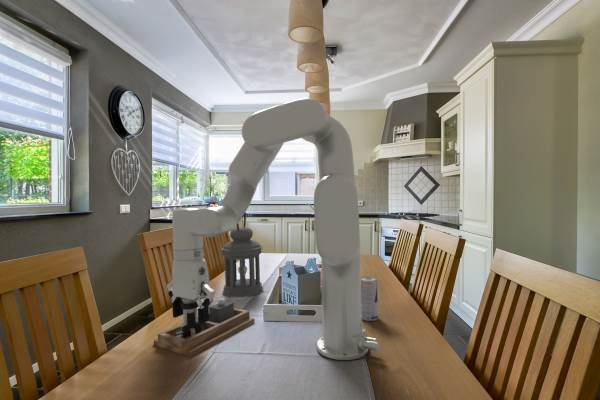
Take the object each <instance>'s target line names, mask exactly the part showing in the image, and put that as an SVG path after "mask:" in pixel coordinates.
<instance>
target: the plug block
mask: <svg viewBox="0 0 600 400" xmlns="http://www.w3.org/2000/svg"><path fill="white" fill-rule="evenodd" d="M234 308H235V303H234V302H231V301H227V300H225V298H219V299H217V303H215V304H212V305H210V306H209V321H211V322H216V323H221V322H223V321H225V320H227V319H230V318H232V317H234Z"/></svg>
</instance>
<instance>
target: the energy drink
mask: <svg viewBox="0 0 600 400" xmlns="http://www.w3.org/2000/svg"><path fill="white" fill-rule="evenodd" d="M378 295H379V294H378V280H377V277H376V278H375V277H374V276H373V277H372V276H363V277H362V276H361V321H365V322H375V321H377V320H378V318H379V305H378V304H379V300H378V299H379V298H378Z"/></svg>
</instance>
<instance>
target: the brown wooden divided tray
mask: <svg viewBox="0 0 600 400" xmlns="http://www.w3.org/2000/svg"><path fill="white" fill-rule="evenodd" d="M197 320H198V316H197ZM183 323H184V322H182V323H180V324H178V325H176V326H174V327H171V328H169V329H166V330H164V331H161V332H159V333H157V338H156V339H154V340H153V345H154V346H156V347H159V348H163V349H165V350H169V351H170V352H173V353H178V354H180V355H183V356H186V357H189V358H192V357H194V356H196V355H197V354H199V353H201V352H203V351H205V350H207V349H208V348H211V347H212V346H214V345H215V344H216V345H217V344H218V343H220V342H221V341H223V340H225V339H227V338H229V337H230V336H232V335H234V334H236V333H238V332H239V331H241V330H243V329H246V328H247V327H249V326H251V325H253V324H255V318H253V317H251V316H250V310H245V309H240V308H235V307H234V317H232V318H230V319H227V320H225V321H223V322H221V323H216V322H211V321H207V322H205V323H203V324H201V332H200V333H198V334H195V335H193V336H188V337H185V338H184V337H183V336H180V337H176V336H178V335H181V333H178V334H176V333H177V332H180V331H181V326H183Z"/></svg>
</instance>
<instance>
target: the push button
mask: <svg viewBox="0 0 600 400" xmlns="http://www.w3.org/2000/svg"><path fill="white" fill-rule="evenodd" d="M179 304H180V305H181V309H183V315H182V316H183V322H182V323H183V326H181V331H180V332H177V333H176V334H178V333H181V335H178V336H176V337H180V336H183V337H184V338H185V337H188V336H193V335H195V334H198V333H200V332H201V324H198V320H197V317H198V308H200V307H199V306H198V304H197V302H196V300H189V299H185V298H182V299H181V301H180V302H179Z"/></svg>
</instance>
